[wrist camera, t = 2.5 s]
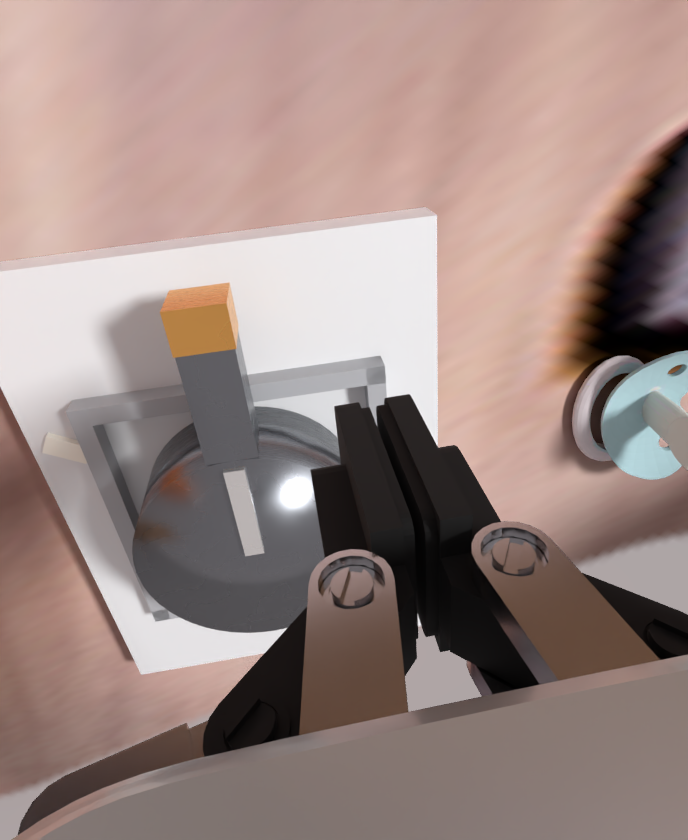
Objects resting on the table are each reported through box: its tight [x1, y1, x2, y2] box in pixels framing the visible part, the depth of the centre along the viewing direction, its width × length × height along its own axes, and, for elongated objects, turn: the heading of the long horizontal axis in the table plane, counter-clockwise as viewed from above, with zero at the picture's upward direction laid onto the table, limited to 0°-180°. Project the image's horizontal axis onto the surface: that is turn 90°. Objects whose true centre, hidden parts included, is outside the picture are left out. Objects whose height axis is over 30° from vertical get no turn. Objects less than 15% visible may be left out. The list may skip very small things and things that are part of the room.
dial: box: [132, 282, 341, 633], centre depth 23 cm, size 16×10×4 cm, turn 5°
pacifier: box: [572, 351, 688, 479], centre depth 26 cm, size 7×6×6 cm
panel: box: [0, 207, 438, 675], centre depth 27 cm, size 18×24×3 cm
